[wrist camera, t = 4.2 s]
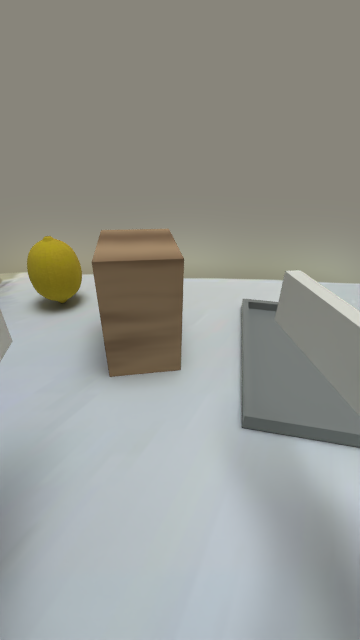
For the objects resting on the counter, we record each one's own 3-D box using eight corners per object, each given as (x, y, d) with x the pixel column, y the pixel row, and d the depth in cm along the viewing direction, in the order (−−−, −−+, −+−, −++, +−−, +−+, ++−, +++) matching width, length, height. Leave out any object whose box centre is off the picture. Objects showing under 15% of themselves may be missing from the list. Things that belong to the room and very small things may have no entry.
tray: (242, 427, 19) (244, 415, 18) (241, 307, 33) (242, 298, 33) (533, 476, 16) (548, 465, 16) (397, 324, 31) (402, 314, 30)
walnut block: (180, 370, 24) (184, 258, 19) (109, 377, 23) (91, 262, 18) (168, 321, 31) (168, 228, 25) (113, 325, 30) (101, 230, 24)
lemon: (67, 288, 37) (54, 227, 32) (96, 300, 34) (85, 235, 30) (28, 305, 33) (7, 237, 29) (57, 319, 30) (38, 247, 26)
